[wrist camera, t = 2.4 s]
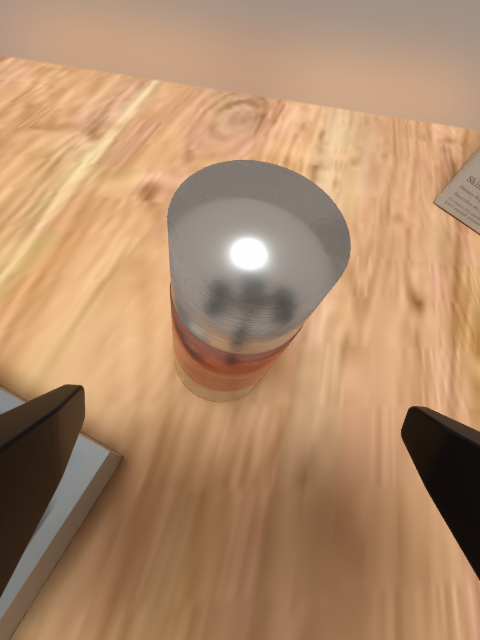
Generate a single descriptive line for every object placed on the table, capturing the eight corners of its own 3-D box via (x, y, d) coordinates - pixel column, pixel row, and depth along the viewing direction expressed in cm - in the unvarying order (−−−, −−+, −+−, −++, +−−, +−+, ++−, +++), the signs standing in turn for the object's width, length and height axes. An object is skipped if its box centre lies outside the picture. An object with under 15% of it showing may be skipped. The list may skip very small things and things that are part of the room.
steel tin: (277, 342, 23) (372, 208, 12) (240, 420, 20) (316, 345, 9) (203, 303, 23) (223, 136, 12) (156, 374, 21) (124, 245, 9)
